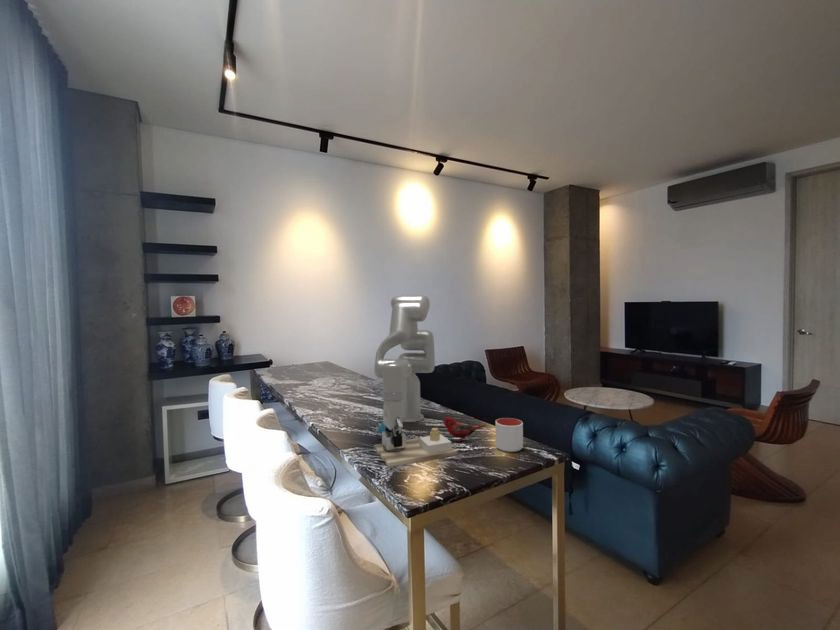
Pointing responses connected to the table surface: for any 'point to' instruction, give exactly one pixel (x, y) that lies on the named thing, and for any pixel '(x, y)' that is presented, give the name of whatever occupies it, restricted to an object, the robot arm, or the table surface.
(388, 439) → the steel collar
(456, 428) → the decorative bird figurine
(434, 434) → the block
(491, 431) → the table surface
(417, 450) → the board
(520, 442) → the cup
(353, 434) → the table surface
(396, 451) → the rod stand
